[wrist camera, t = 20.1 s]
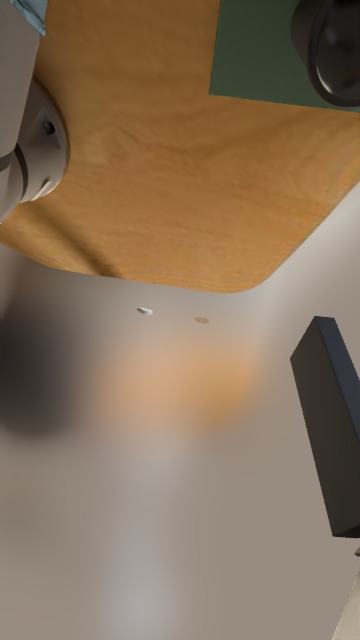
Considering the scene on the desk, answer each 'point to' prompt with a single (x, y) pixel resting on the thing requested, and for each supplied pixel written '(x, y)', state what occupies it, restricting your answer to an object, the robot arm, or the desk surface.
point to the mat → (261, 55)
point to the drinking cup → (330, 48)
